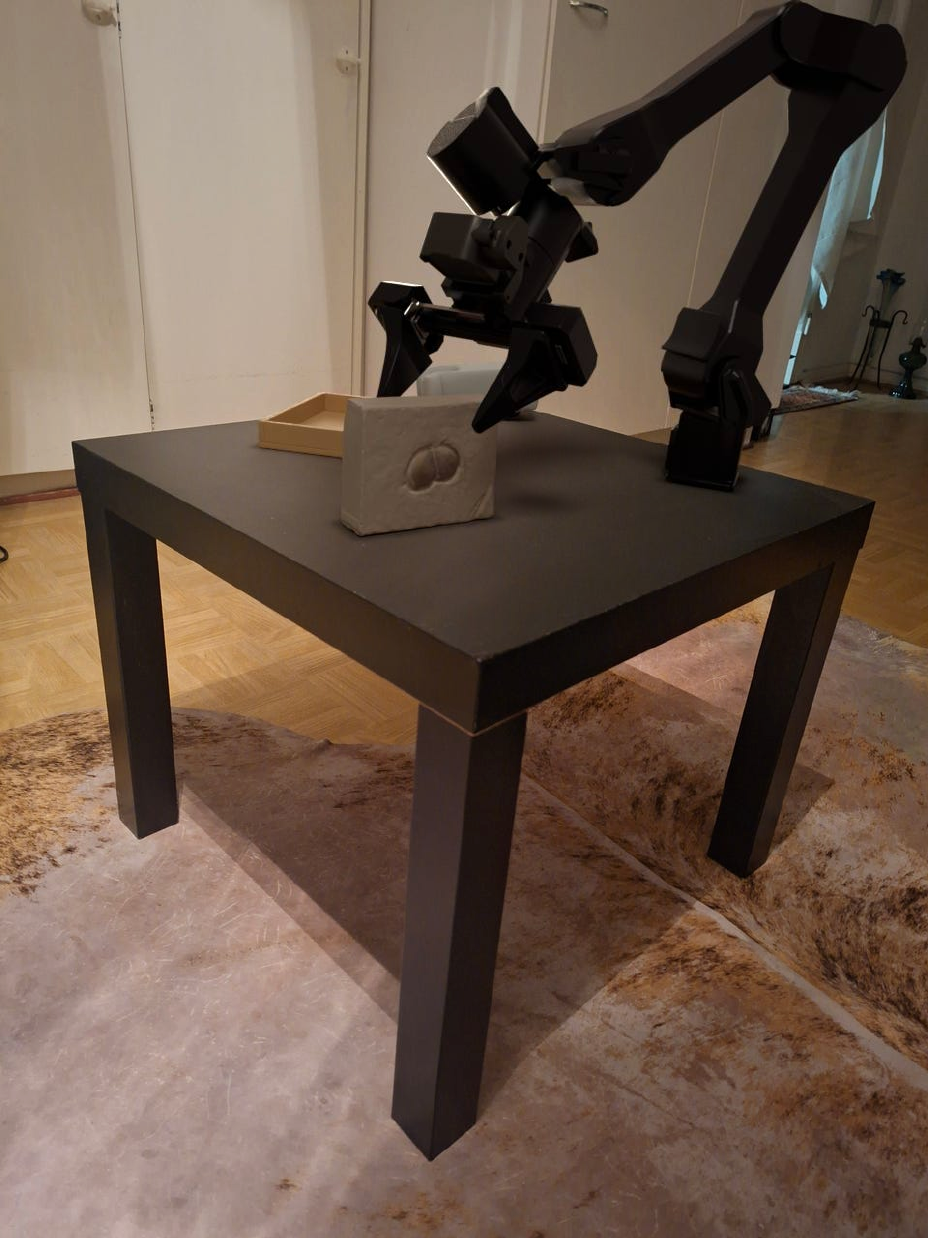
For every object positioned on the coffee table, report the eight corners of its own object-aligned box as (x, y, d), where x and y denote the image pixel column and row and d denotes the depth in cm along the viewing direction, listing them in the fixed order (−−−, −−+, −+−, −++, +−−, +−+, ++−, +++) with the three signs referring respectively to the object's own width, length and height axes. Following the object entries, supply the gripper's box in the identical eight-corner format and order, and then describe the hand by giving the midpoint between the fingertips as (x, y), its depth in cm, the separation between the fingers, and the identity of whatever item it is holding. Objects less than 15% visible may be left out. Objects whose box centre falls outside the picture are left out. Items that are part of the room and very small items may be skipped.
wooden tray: (482, 433, 95) (484, 410, 94) (449, 471, 79) (450, 444, 78) (321, 414, 98) (321, 391, 97) (258, 447, 82) (257, 420, 81)
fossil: (360, 538, 61) (363, 406, 57) (339, 523, 64) (340, 396, 60) (494, 518, 68) (505, 398, 63) (470, 505, 70) (479, 389, 66)
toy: (412, 434, 98) (542, 428, 97) (408, 378, 95) (541, 372, 94) (420, 413, 109) (536, 408, 108) (417, 362, 106) (536, 357, 105)
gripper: (387, 167, 64) (280, 324, 61) (602, 176, 55) (489, 364, 51) (444, 278, 73) (354, 420, 70) (636, 302, 64) (543, 468, 60)
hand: (425, 417), depth 63 cm, fingers open, 9 cm apart
